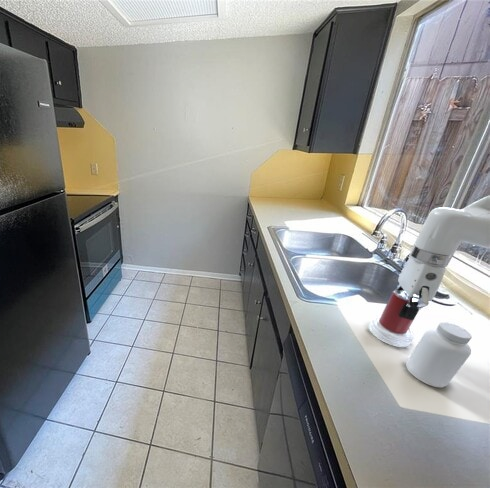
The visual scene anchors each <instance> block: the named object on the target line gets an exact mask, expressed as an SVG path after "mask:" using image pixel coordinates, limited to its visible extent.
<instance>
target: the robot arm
mask: <svg viewBox="0 0 490 488" xmlns="http://www.w3.org/2000/svg"><path fill="white" fill-rule="evenodd" d="M461 243H465V244H469V245H473V246H475V247H476V246H477V247H480V248H485V249H489V250H490V194H488V195H487V196H484V197H482V198H480V199H478V200H476V201H474V202H472V203H470V204H468V205H467V206H465V207H463V208H461V209H457V208H451V207H435V208H433V209H432V210H430V212H429V213H428V215H427V217H426V219H425V222H424V223H423V225H422V228H421V230H420V231H419V234H418V236H417V238H416V240H415V242H414V244H413V245H412V248H411V250H410V252H409V254H408V257H409V258H408V259H407V261H406V262H405V264H404V266H403V267H402V269H401V271H400V273H399V275H398V277H397V286H395V290H404V291H405V292H406V294H407V295H408V299H407V303H406V304H404V305H403V307H402V309H401V311H400V313H399V317H401V318H405V319H409V320H413V321H415V319H414V318H416V317H417V315H418V314H419V311H420V310H421V309H423V308H424V307H427V306H428V305H429V302H432V301H433V299H434V298H435V296H436V294H437V292H438V290H439V288H440V286H441V284H442V282H443V278H444V276H445V273H446V269H447V267H448V266H449V264H450V262H451V260H452V259H453V256H454V255H455V253H456V251H457V250H458V248H459V247H460V244H461ZM414 294H415V295H417V296H419V297H416V296H413V295H414ZM413 298H414V299H418V301H417V302H416V301H415V302H412V299H413ZM416 314H417V315H416ZM415 316H416V317H415Z"/></svg>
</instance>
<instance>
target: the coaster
mask: <svg viewBox="0 0 490 488" xmlns="http://www.w3.org/2000/svg"><path fill="white" fill-rule="evenodd" d="M380 317H381V315H379V316H377V315H376V316H374V317H372V318H371V321H370V323H369V324H368V330H369V332H370V333H371V334H372V335H373V337H375V338H376V339H378V340H379V341H381V342H383V343H384V344H388V345H389V346H391V347H392V346H393V347H396V348H406V347H409V346H410V345H411V343H412V341H413V340H414V338H415V334H414V332H413V331H412V330H411V328H409V329H408V331H407V333H405V334H399V333H395V332H392V331H390V330H388V329H386V328H385V327H383V326H382V325H381V324H380V322H379V319H380Z"/></svg>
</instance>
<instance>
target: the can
mask: <svg viewBox="0 0 490 488" xmlns="http://www.w3.org/2000/svg"><path fill="white" fill-rule="evenodd" d="M413 296H416V297H419V295H417V294H414V295H413ZM407 299H408V295H407V294H406V292H405V291H404V290H396V289H395V290H393V291H392V293H391V295H390V297H389V299H388V301H387V302H386V305H385V307H384V309H383V311H382V313H381V315H380V316H381V317H380V319H379V322H380V324H381V325H382V326H383V327H385V328H386V329H388V330H390V331H392V332H395V333H399V334H405V333H407V331H408V329H410V327H411V326H412V324H413V322H414V320H415V318H416V317H417V315H418V313H417V314H416V316H415V318H414V320H409V319H405V318H401V317H399V313H400V311H401V309H402V307H403V305H404V304H406V303H407ZM415 301H416V302H417V301H418V299H414V298H413V299H412V302H415Z"/></svg>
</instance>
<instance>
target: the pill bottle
mask: <svg viewBox="0 0 490 488" xmlns="http://www.w3.org/2000/svg"><path fill="white" fill-rule="evenodd" d="M471 339H472V334H471V333H470V332H469V331H468V330H466V329H465V328H464V327H461V326H459V325H457V324H455V323H451V322H440V323H439V324H438V325H437V327H436V328H431V329H428V330H426V331H425V332H424V333H423V335H422V336H421V338H420V339H419V341H418V343H417V345H416V346H415V348H414V349H413V351H412V352H411V354H410V356H409V357H408V359H407V360H406V364H405V366H406V369H407V371H408V372H409V373H410V374H411V375H412V376H414V377H415V378H416V379H417V380H418V381H420V382H422V383H424V384H425V385H429V386H430V387H434V388H445V387H447V386H448V385H449V384H450V382H451V381H452V380H453V378H454V377H455V376H456V375H457V374H458V372H459V370H460V369H461V368H462V367H463V365H464V364H465V362H466V361H467V360H468V358H469V357H471V354H472V349H471V346H470V345H469V342H470V341H471Z"/></svg>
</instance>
